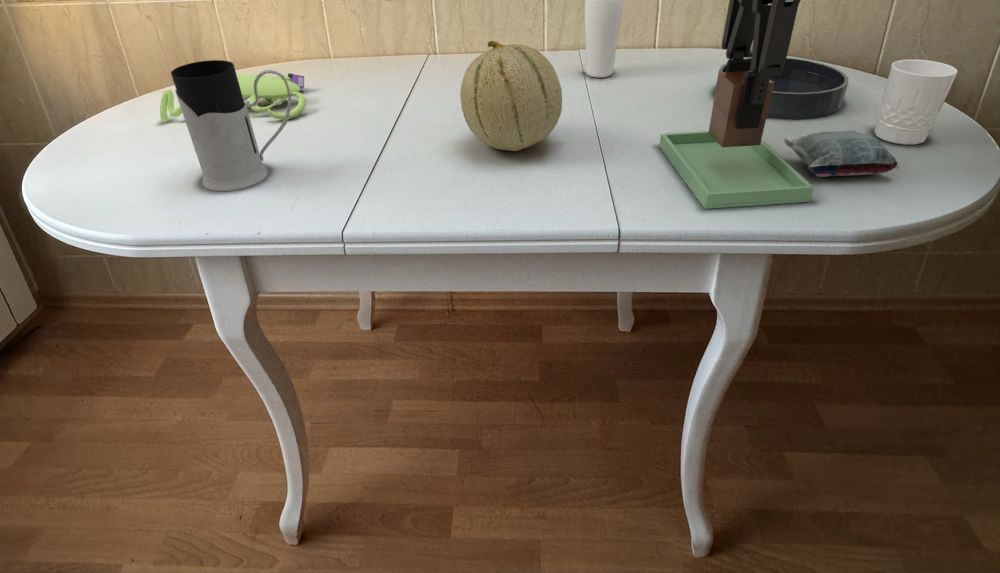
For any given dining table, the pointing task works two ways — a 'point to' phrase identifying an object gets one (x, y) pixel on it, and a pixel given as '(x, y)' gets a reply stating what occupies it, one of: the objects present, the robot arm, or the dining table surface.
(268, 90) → the green coiled cable
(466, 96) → the cantaloupe
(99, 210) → the dining table surface
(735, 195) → the tray
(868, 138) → the grey bean bag
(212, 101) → the glass holder
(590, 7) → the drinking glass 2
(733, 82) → the block
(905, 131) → the white cup
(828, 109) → the pan
